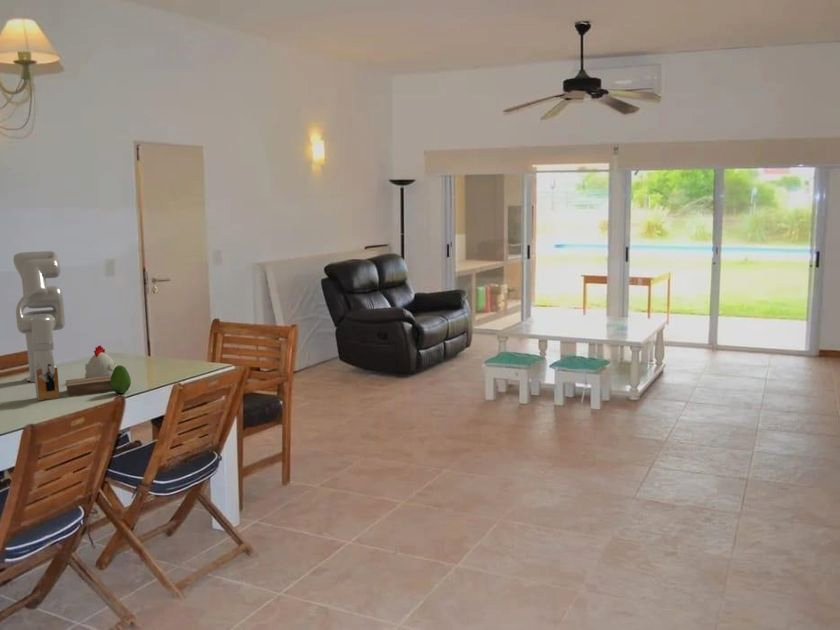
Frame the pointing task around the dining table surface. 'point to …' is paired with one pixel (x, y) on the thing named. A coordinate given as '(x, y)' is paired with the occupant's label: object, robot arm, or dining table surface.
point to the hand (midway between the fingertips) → (47, 388)
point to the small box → (41, 385)
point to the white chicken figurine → (99, 364)
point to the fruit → (120, 380)
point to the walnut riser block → (88, 385)
